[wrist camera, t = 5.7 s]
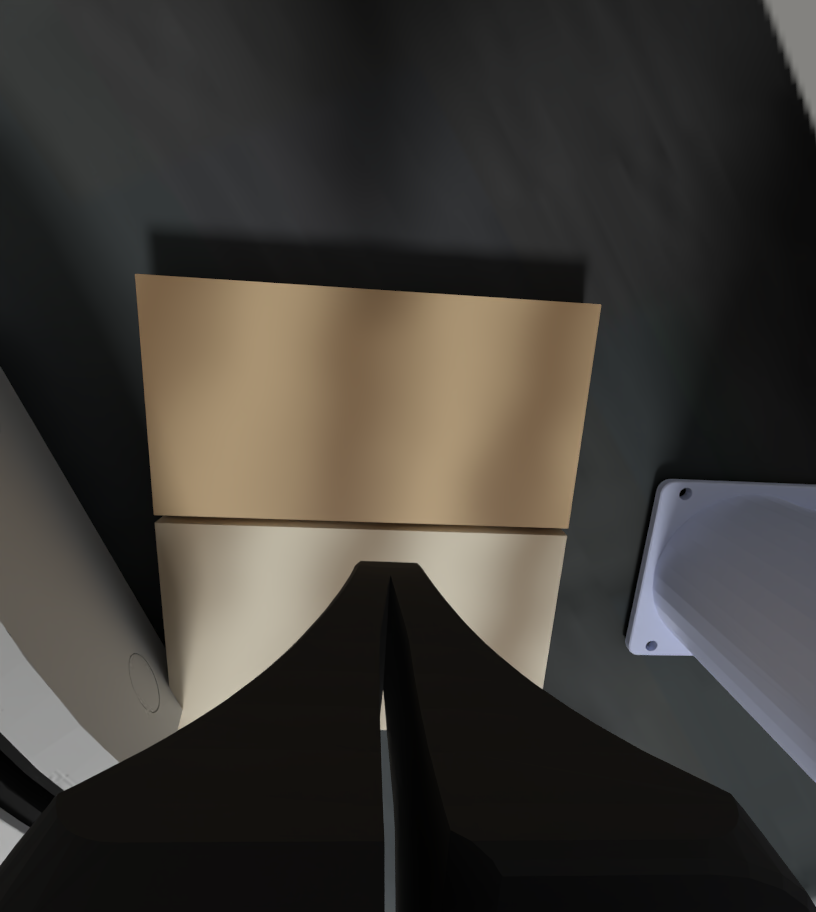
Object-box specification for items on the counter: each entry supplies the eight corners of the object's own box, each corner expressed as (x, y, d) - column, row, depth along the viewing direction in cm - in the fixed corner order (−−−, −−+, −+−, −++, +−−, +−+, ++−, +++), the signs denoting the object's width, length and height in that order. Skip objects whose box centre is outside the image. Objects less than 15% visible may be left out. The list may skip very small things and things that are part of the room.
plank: (580, 308, 17) (601, 304, 15) (552, 513, 19) (568, 528, 17) (159, 280, 16) (134, 273, 14) (174, 499, 18) (153, 515, 16)
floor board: (551, 519, 19) (566, 536, 17) (524, 701, 21) (536, 730, 20) (174, 506, 18) (154, 522, 16) (189, 698, 20) (173, 729, 19)
